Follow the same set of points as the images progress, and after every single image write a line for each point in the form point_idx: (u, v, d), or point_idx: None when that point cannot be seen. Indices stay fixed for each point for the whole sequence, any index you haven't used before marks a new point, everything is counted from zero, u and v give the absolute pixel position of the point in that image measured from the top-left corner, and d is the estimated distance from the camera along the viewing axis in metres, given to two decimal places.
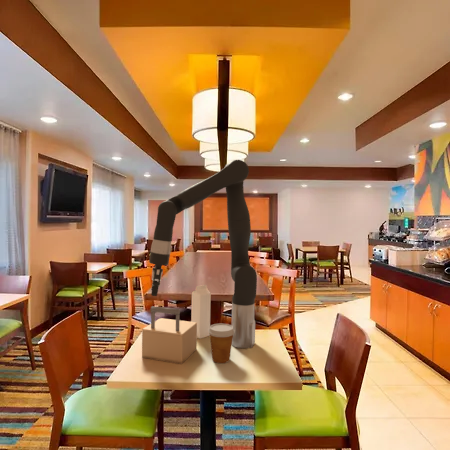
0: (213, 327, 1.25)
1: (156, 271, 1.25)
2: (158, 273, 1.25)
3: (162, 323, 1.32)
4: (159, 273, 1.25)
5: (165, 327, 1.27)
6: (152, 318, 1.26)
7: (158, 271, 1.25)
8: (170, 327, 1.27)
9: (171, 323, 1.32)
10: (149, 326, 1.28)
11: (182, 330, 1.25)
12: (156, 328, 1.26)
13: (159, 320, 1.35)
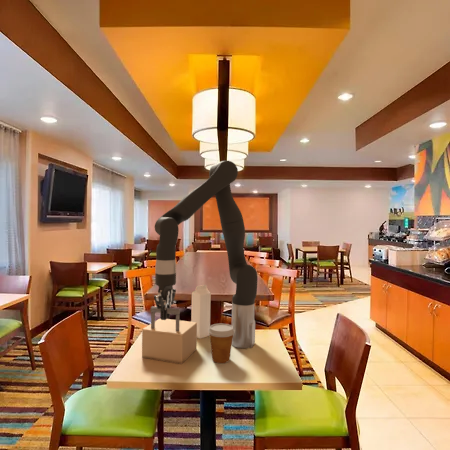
0: (213, 327, 1.25)
1: (155, 299, 1.19)
2: (158, 300, 1.19)
3: (162, 323, 1.32)
4: (159, 300, 1.19)
5: (165, 327, 1.27)
6: (152, 318, 1.26)
7: (157, 298, 1.19)
8: (170, 327, 1.27)
9: (171, 323, 1.32)
10: (149, 326, 1.28)
11: (182, 330, 1.25)
12: (156, 328, 1.26)
13: (159, 320, 1.35)
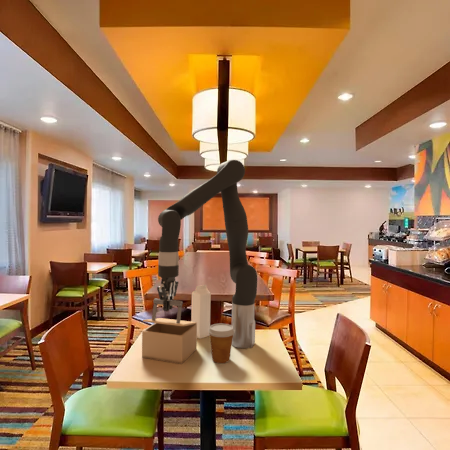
0: (213, 327, 1.25)
1: (158, 290, 1.21)
2: (161, 291, 1.21)
3: (162, 319, 1.32)
4: (162, 291, 1.21)
5: (166, 321, 1.28)
6: (154, 310, 1.27)
7: (160, 289, 1.21)
8: (171, 321, 1.28)
9: (171, 320, 1.33)
10: (150, 319, 1.28)
11: (183, 323, 1.25)
12: (157, 320, 1.26)
13: (159, 318, 1.36)
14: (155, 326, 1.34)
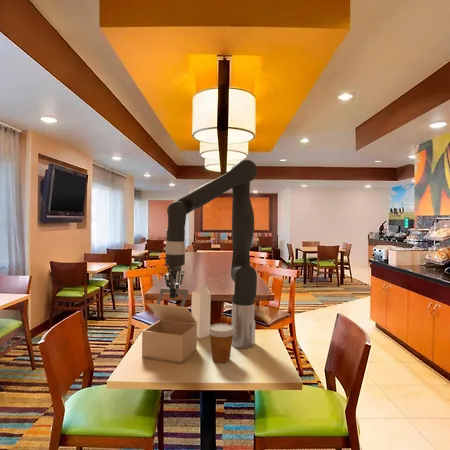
0: (213, 327, 1.25)
1: (166, 277, 1.26)
2: (168, 278, 1.26)
3: None
4: (169, 278, 1.26)
5: None
6: (159, 297, 1.31)
7: (167, 277, 1.26)
8: None
9: None
10: None
11: None
12: None
13: None
14: (155, 326, 1.34)
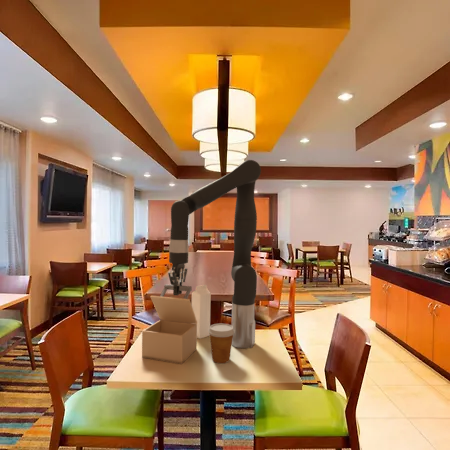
0: (213, 327, 1.25)
1: (169, 274, 1.29)
2: (172, 276, 1.30)
3: None
4: (173, 276, 1.29)
5: None
6: (163, 292, 1.34)
7: (171, 274, 1.29)
8: None
9: None
10: None
11: None
12: None
13: None
14: (155, 326, 1.34)
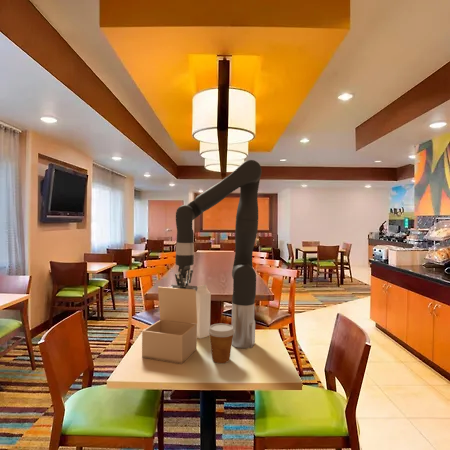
0: (213, 327, 1.25)
1: (176, 276, 1.35)
2: (178, 277, 1.35)
3: None
4: (179, 277, 1.35)
5: None
6: None
7: (178, 276, 1.35)
8: None
9: None
10: None
11: None
12: None
13: None
14: (155, 326, 1.34)
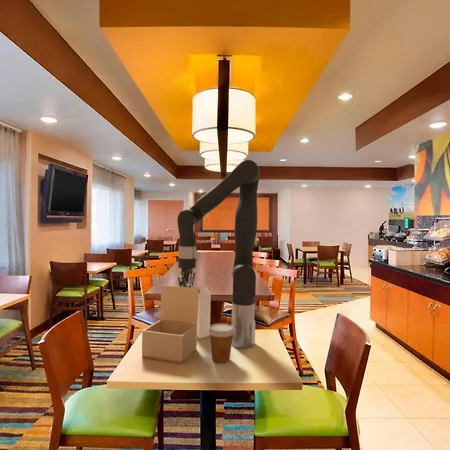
0: (213, 327, 1.25)
1: (179, 279, 1.38)
2: (181, 280, 1.38)
3: None
4: (182, 280, 1.38)
5: None
6: None
7: (181, 279, 1.38)
8: None
9: None
10: None
11: None
12: None
13: None
14: (155, 326, 1.34)
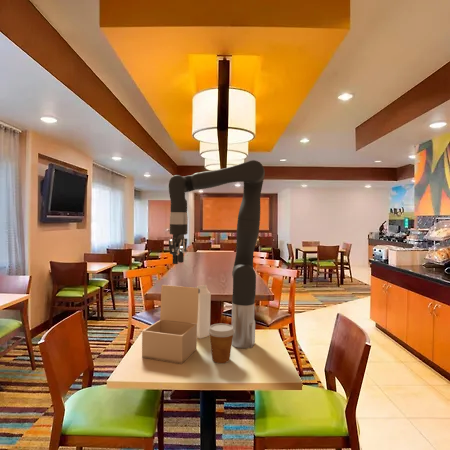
0: (213, 327, 1.25)
1: (170, 242, 1.38)
2: (172, 244, 1.38)
3: None
4: (173, 244, 1.38)
5: None
6: None
7: (171, 242, 1.38)
8: None
9: None
10: None
11: None
12: None
13: None
14: (155, 326, 1.34)
